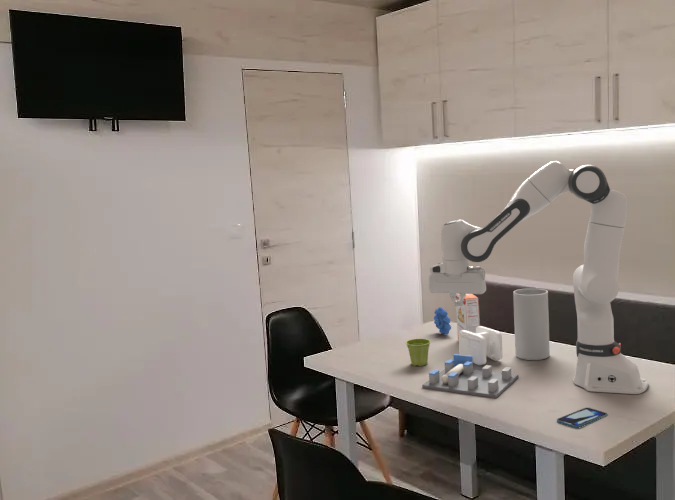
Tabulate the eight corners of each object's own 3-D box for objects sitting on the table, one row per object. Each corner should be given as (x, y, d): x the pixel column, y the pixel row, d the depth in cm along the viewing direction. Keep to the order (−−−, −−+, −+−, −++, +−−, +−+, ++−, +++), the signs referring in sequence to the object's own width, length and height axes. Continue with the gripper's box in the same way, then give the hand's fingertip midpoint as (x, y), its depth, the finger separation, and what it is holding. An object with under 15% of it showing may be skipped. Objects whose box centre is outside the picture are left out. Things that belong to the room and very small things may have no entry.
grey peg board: (518, 377, 231) (517, 360, 230) (496, 398, 213) (495, 380, 212) (448, 369, 245) (447, 353, 245) (422, 387, 227) (421, 370, 226)
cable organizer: (504, 362, 248) (503, 332, 247) (481, 368, 244) (480, 337, 243) (480, 353, 262) (478, 324, 260) (457, 358, 258) (456, 329, 256)
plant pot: (415, 369, 248) (413, 346, 247) (402, 363, 257) (401, 341, 255) (436, 364, 252) (435, 342, 251) (423, 358, 260) (422, 337, 259)
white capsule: (457, 368, 240) (460, 361, 239) (464, 372, 239) (467, 365, 238) (438, 381, 227) (441, 374, 226) (446, 386, 225) (449, 379, 224)
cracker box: (456, 340, 283) (454, 291, 281) (470, 338, 284) (468, 290, 281) (466, 349, 269) (464, 298, 267) (481, 347, 270) (479, 296, 267)
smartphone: (609, 413, 194) (577, 426, 185) (609, 416, 194) (577, 430, 185) (586, 406, 200) (555, 419, 191) (586, 409, 200) (555, 422, 191)
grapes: (427, 333, 298) (426, 306, 297) (440, 330, 301) (439, 304, 299) (441, 338, 288) (440, 311, 286) (455, 335, 290) (453, 308, 289)
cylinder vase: (547, 351, 259) (545, 287, 256) (551, 360, 247) (550, 294, 244) (514, 351, 261) (512, 289, 258) (517, 361, 249) (514, 295, 246)
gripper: (487, 265, 228) (490, 304, 230) (432, 265, 239) (435, 302, 241) (481, 268, 223) (483, 308, 225) (425, 268, 234) (428, 306, 236)
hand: (458, 305), depth 233 cm, fingers closed
